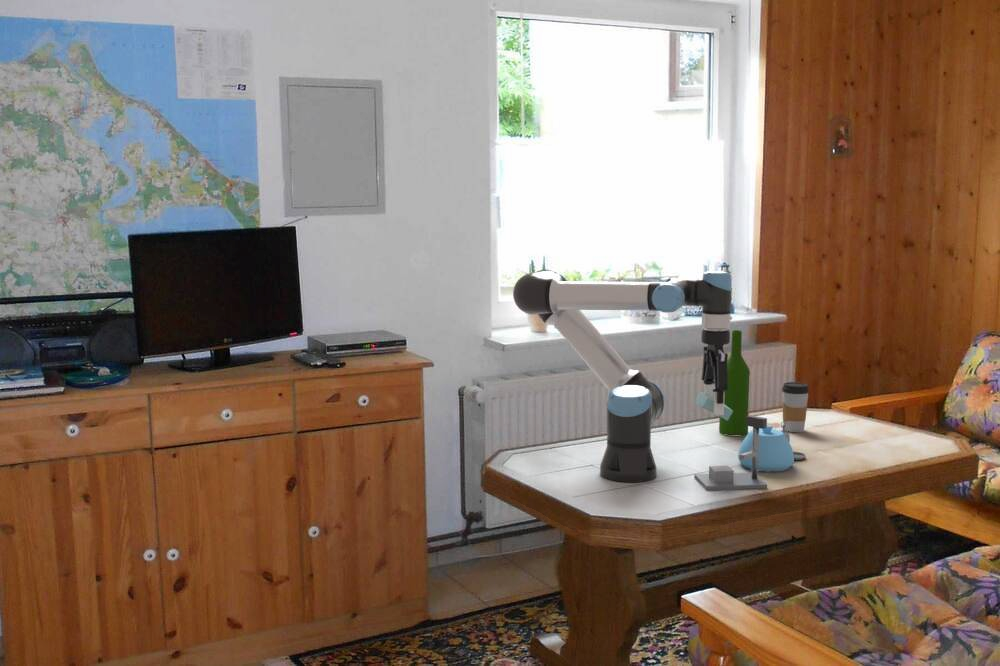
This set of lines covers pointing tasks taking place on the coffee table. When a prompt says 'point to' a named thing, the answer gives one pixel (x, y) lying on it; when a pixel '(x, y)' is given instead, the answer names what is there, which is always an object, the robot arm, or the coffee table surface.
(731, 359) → the wine bottle
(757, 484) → the grey base plate
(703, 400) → the lid
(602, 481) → the coffee table surface
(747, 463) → the sugar bowl
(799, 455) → the pocket watch
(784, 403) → the coffee cup
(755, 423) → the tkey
